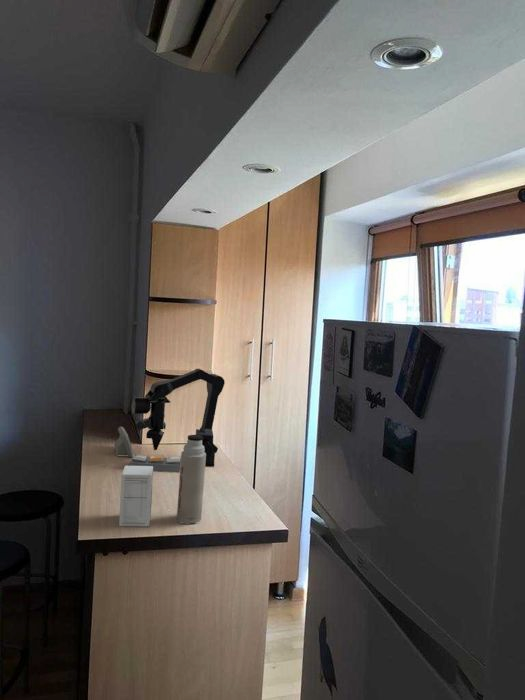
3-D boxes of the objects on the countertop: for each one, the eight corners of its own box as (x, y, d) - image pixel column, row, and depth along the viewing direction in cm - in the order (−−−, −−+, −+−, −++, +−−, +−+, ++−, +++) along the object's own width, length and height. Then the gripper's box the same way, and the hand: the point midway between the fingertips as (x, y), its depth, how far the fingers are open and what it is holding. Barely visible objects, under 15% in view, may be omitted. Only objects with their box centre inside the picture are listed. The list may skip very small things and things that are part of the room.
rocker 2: (180, 459, 231) (179, 456, 231) (179, 461, 228) (179, 458, 228) (167, 460, 231) (167, 457, 231) (166, 462, 228) (166, 459, 228)
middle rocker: (163, 458, 230) (163, 455, 230) (162, 460, 227) (162, 457, 227) (150, 459, 230) (150, 456, 230) (149, 461, 227) (149, 458, 227)
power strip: (181, 465, 237) (181, 457, 237) (179, 472, 227) (180, 465, 227) (133, 462, 235) (134, 455, 235) (130, 469, 225) (130, 462, 225)
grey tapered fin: (133, 459, 240) (135, 435, 239) (112, 458, 238) (114, 434, 238) (135, 448, 256) (136, 426, 255) (115, 448, 254) (116, 425, 253)
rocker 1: (145, 459, 230) (146, 456, 230) (145, 461, 227) (145, 458, 227) (133, 456, 229) (134, 453, 229) (132, 458, 226) (133, 455, 226)
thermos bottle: (175, 523, 177) (181, 438, 174) (177, 514, 185) (183, 432, 182) (200, 525, 177) (207, 440, 175) (201, 515, 185) (207, 433, 183)
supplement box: (151, 515, 182) (154, 465, 180) (149, 527, 173) (152, 474, 171) (121, 514, 180) (124, 464, 179) (118, 526, 171) (121, 473, 170)
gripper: (140, 407, 236) (138, 442, 238) (134, 417, 218) (132, 455, 219) (166, 408, 237) (164, 444, 239) (163, 418, 219) (160, 456, 221)
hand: (155, 449), depth 229 cm, fingers closed
